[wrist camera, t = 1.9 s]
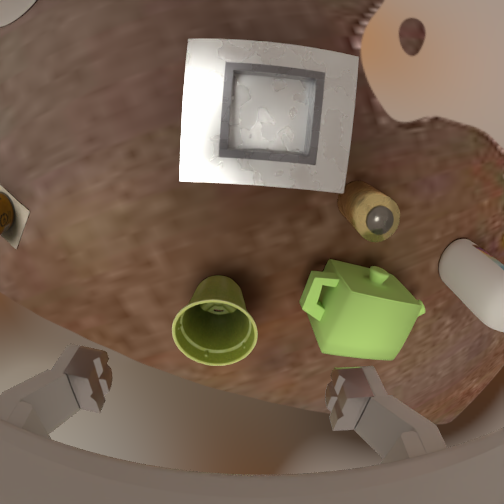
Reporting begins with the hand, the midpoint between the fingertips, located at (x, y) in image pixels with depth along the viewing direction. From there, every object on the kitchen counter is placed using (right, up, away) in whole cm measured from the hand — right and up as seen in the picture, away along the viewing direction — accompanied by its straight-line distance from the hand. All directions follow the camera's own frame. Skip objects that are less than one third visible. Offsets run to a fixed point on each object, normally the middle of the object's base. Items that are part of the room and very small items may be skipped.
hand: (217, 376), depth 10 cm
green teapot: (+16, -1, +32) cm, 35 cm away
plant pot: (-3, -1, +31) cm, 31 cm away
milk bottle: (+32, +3, +30) cm, 44 cm away
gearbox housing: (+3, +19, +22) cm, 29 cm away
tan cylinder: (+14, +11, +26) cm, 32 cm away
